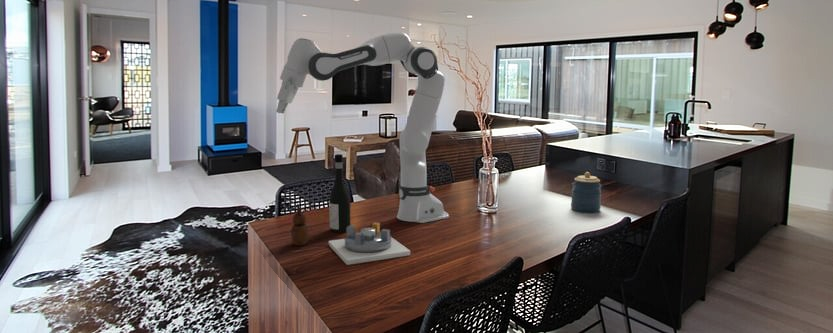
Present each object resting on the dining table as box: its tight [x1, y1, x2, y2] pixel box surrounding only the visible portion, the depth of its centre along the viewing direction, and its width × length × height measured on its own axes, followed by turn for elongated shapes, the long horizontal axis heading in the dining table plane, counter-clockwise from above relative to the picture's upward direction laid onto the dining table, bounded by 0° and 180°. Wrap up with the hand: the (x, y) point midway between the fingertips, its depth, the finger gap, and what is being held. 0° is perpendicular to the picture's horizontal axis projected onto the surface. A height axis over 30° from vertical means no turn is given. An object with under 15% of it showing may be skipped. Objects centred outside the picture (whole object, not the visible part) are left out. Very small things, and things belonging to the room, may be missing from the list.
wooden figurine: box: [290, 202, 309, 247], centre depth 176 cm, size 7×6×15 cm
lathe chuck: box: [344, 221, 392, 253], centre depth 170 cm, size 16×16×6 cm
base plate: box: [328, 236, 411, 266], centre depth 171 cm, size 22×22×2 cm
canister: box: [570, 171, 603, 214], centre depth 226 cm, size 13×13×18 cm
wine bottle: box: [328, 153, 351, 233], centre depth 192 cm, size 8×8×30 cm
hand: (279, 112), depth 190 cm, fingers open, 8 cm apart
